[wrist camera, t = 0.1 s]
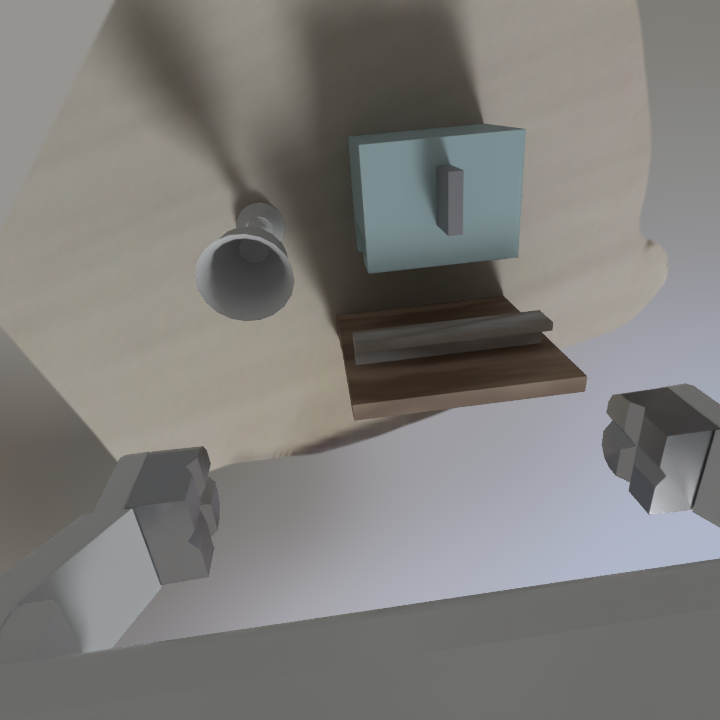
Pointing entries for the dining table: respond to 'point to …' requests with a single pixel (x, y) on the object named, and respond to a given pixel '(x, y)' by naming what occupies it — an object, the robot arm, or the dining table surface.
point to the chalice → (247, 267)
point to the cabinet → (437, 195)
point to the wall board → (450, 357)
